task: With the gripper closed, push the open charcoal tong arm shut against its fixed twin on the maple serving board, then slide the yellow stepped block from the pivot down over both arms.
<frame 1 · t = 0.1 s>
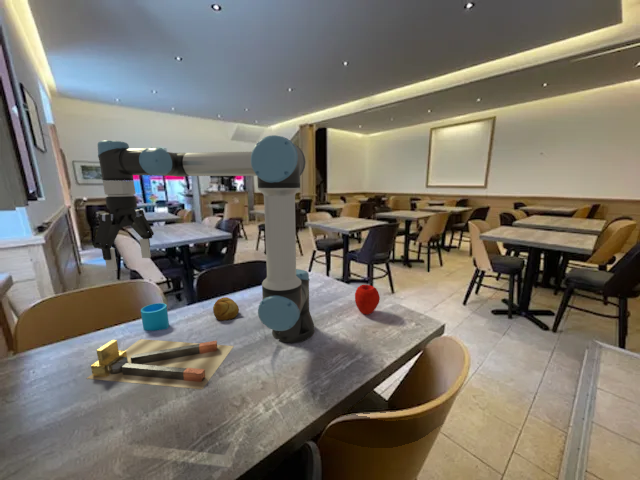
hand: (130, 263, 86), 28 cm above the table, fingers open, 13 cm apart
tong fixed: (119, 368, 77), resting on board
tong arm: (176, 352, 82), point 3 cm above the table, hinge at 25.0°
apple: (366, 313, 114), on the table
board: (167, 365, 81), on the table
bread roll: (226, 315, 112), on the table
mug: (157, 326, 104), on the table
yellow stepped block: (108, 356, 77), point 5 cm above the table, slide at 0.0 cm
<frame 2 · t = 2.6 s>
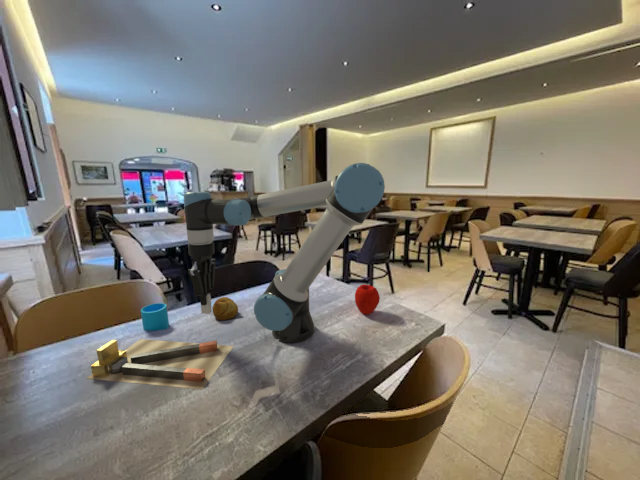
hand: (206, 312, 89), 11 cm above the table, fingers closed
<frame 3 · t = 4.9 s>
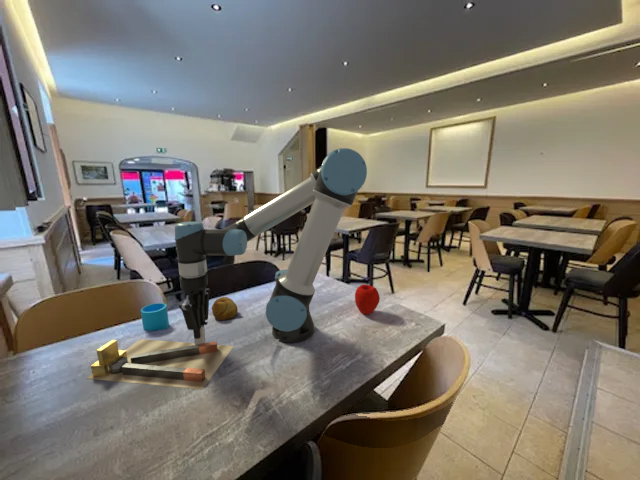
hand: (200, 345, 86), 3 cm above the table, fingers closed
tong arm: (176, 352, 82), point 3 cm above the table, hinge at 24.1°, touching gripper
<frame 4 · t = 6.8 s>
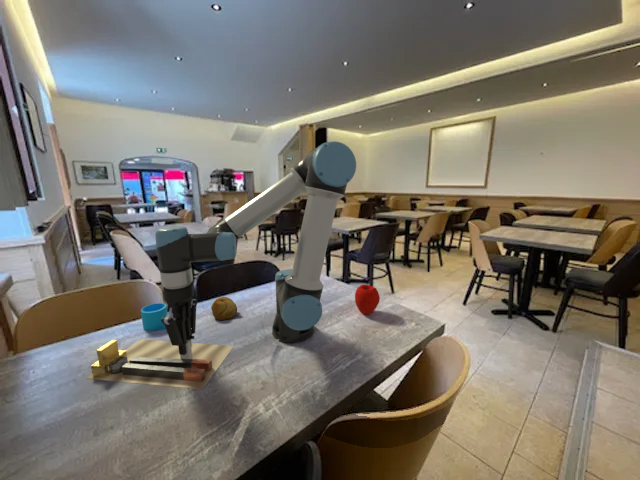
hand: (187, 361, 78), 3 cm above the table, fingers closed
tong arm: (170, 363, 77), point 3 cm above the table, hinge at 3.6°, touching gripper
everything else where it was.
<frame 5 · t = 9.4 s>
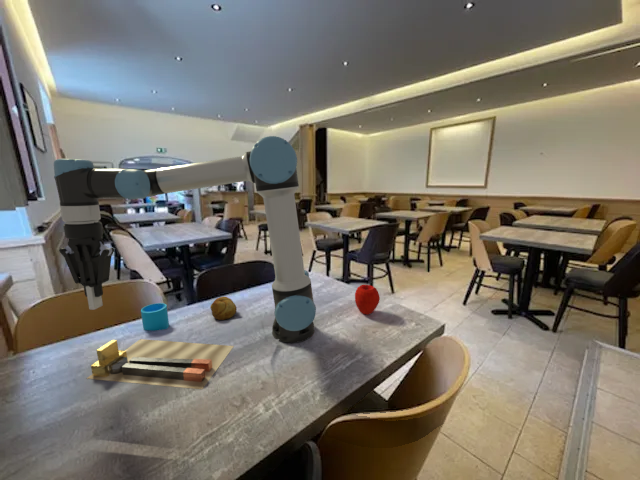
hand: (96, 307, 75), 20 cm above the table, fingers closed
tong arm: (170, 363, 77), point 3 cm above the table, hinge at 3.5°
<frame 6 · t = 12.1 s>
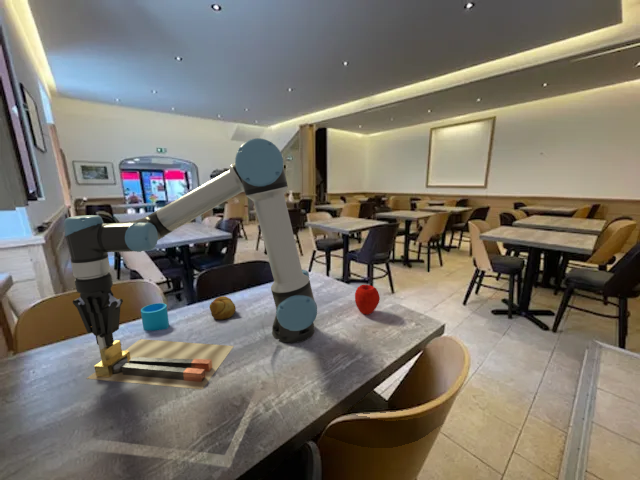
hand: (107, 354, 77), 6 cm above the table, fingers closed
yellow stepped block: (112, 356, 76), point 5 cm above the table, slide at 1.1 cm, touching gripper
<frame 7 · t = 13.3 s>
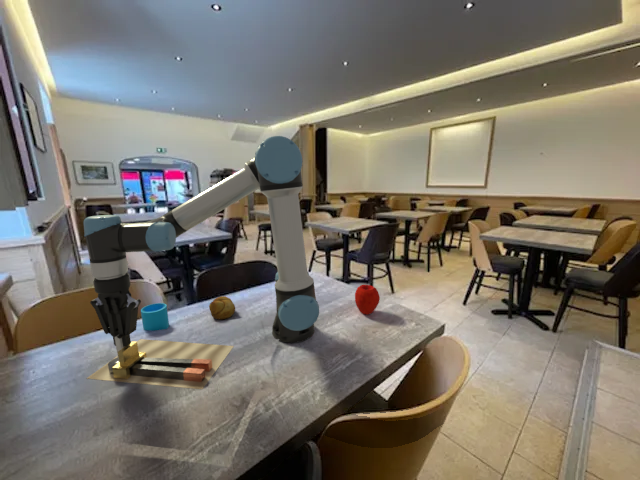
hand: (124, 355, 76), 6 cm above the table, fingers closed
yellow stepped block: (129, 358, 76), point 5 cm above the table, slide at 6.3 cm, touching gripper
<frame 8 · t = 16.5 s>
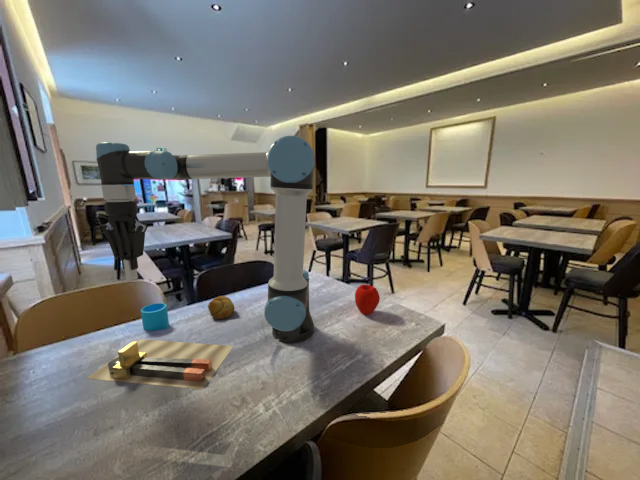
hand: (132, 279, 82), 24 cm above the table, fingers closed
yellow stepped block: (129, 358, 76), point 5 cm above the table, slide at 6.4 cm
at the end: tong arm at +4° (first picture: +25°); yellow stepped block slide at 6.4 cm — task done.
